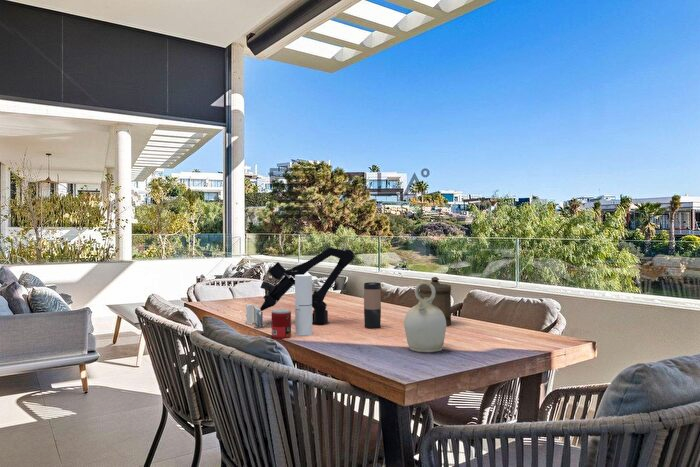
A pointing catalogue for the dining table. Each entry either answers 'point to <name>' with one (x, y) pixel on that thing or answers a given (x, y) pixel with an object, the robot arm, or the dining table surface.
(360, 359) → the dining table surface
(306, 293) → the cylindrical container
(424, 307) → the jug
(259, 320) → the hinge post
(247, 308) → the latch post
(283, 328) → the canned food
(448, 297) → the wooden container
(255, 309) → the gate
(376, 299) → the travel mug
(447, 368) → the dining table surface
